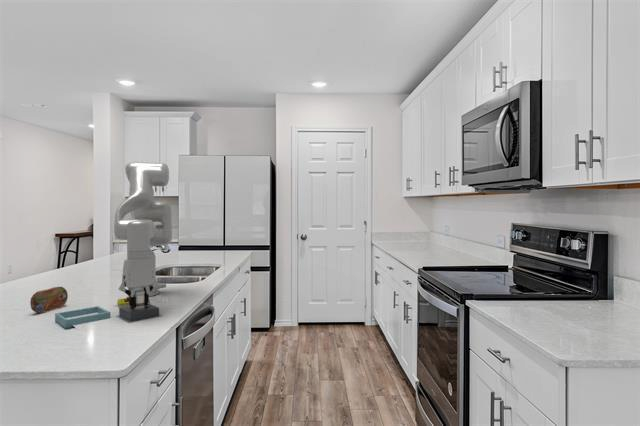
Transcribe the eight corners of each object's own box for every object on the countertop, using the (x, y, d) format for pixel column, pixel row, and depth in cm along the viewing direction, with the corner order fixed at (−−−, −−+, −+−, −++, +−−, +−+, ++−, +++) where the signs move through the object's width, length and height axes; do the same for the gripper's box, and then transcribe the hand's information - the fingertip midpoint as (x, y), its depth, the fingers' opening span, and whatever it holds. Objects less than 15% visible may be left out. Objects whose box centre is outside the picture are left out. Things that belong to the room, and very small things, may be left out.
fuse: (142, 313, 150) (142, 289, 150) (146, 315, 147) (146, 291, 147) (131, 316, 147) (131, 291, 147) (136, 318, 145) (135, 292, 144)
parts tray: (98, 314, 153) (98, 306, 153) (110, 320, 145) (110, 312, 145) (55, 321, 143) (55, 313, 143) (65, 329, 135) (65, 320, 135)
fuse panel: (148, 312, 156) (148, 301, 156) (162, 318, 148) (162, 307, 147) (115, 318, 147) (115, 307, 147) (128, 325, 139) (128, 314, 139)
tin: (35, 315, 151) (35, 292, 151) (28, 315, 152) (28, 292, 151) (68, 305, 166) (68, 284, 166) (61, 305, 166) (61, 284, 166)
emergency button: (113, 296, 165) (153, 292, 172) (113, 307, 165) (153, 302, 172) (114, 301, 157) (156, 297, 164) (114, 312, 157) (156, 307, 164)
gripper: (156, 252, 155) (156, 300, 156) (110, 256, 143) (110, 308, 144) (165, 254, 150) (166, 303, 151) (118, 258, 138) (119, 312, 139)
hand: (139, 305), depth 147 cm, fingers closed on fuse, 3 cm apart
